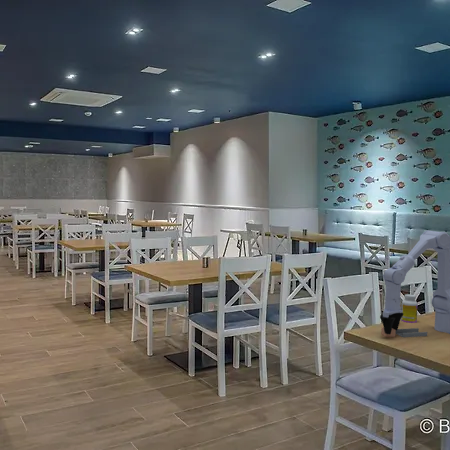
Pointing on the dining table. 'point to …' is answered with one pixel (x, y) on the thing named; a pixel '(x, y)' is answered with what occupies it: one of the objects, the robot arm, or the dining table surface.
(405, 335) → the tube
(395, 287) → the robot arm
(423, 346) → the dining table surface
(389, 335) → the block
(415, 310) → the supplement bottle
